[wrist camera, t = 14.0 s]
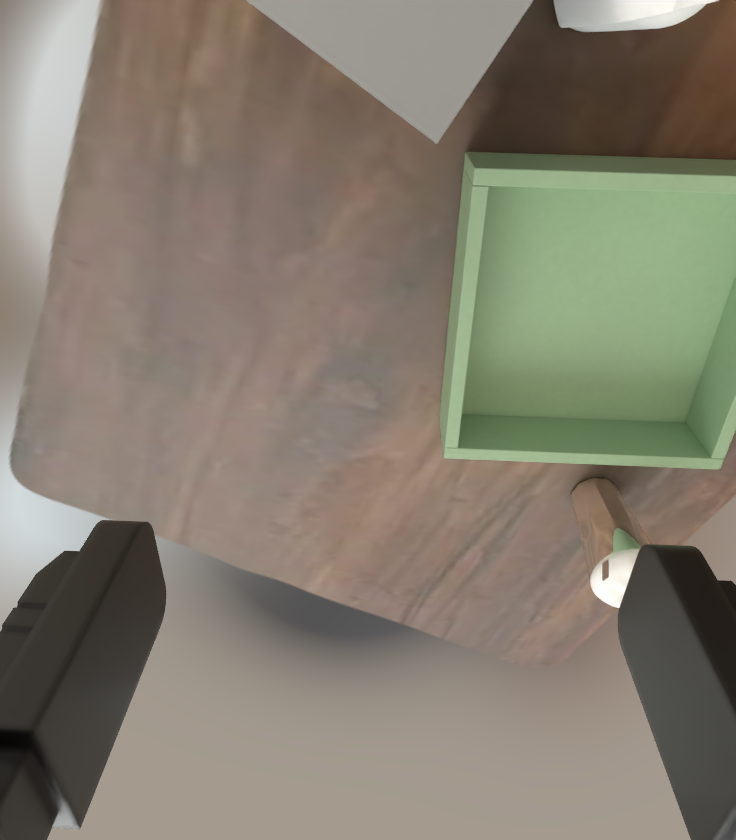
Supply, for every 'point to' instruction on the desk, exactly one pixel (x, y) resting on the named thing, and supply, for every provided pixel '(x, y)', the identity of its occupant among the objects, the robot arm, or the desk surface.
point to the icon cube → (405, 47)
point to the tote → (593, 311)
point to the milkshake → (607, 537)
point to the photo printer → (624, 13)
